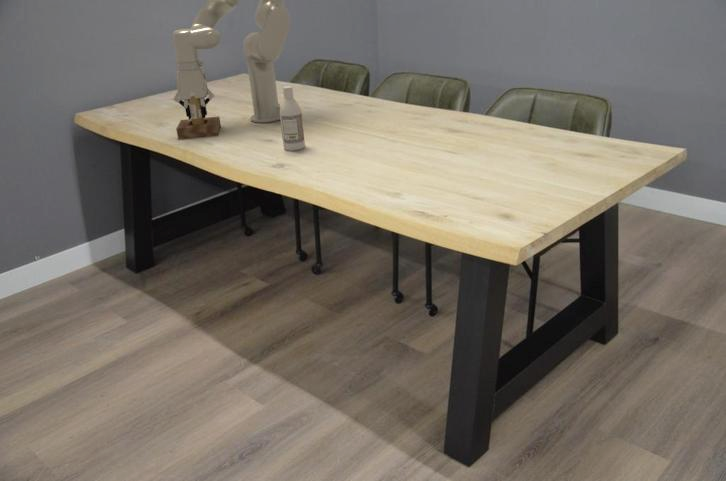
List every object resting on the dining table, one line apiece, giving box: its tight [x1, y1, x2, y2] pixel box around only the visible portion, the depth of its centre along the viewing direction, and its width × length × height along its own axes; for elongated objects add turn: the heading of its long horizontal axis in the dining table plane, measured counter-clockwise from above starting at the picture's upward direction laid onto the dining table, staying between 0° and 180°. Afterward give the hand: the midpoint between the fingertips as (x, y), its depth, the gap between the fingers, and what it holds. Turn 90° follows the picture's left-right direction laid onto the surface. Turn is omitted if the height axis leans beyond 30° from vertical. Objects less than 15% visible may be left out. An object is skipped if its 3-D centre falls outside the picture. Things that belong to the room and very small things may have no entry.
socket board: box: [175, 116, 222, 141], centre depth 260 cm, size 14×12×4 cm
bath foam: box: [279, 85, 306, 152], centre depth 231 cm, size 7×7×20 cm
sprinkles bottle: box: [188, 93, 205, 125], centre depth 257 cm, size 5×5×14 cm
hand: (197, 117), depth 258 cm, fingers closed on sprinkles bottle, 4 cm apart
